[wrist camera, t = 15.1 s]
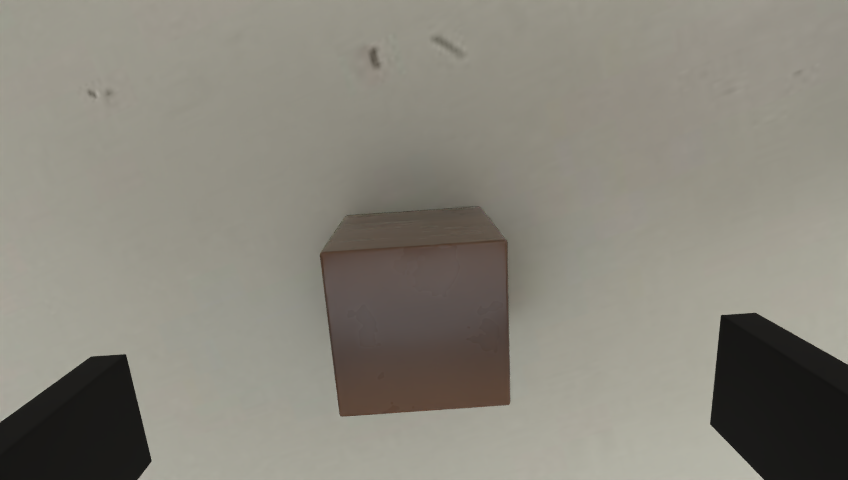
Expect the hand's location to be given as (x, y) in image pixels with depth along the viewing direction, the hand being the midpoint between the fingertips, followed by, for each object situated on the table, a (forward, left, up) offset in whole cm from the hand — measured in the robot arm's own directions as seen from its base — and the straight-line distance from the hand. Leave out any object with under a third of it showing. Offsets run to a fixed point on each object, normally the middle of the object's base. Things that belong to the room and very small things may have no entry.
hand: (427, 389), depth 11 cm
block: (0, 0, -8) cm, 8 cm away
